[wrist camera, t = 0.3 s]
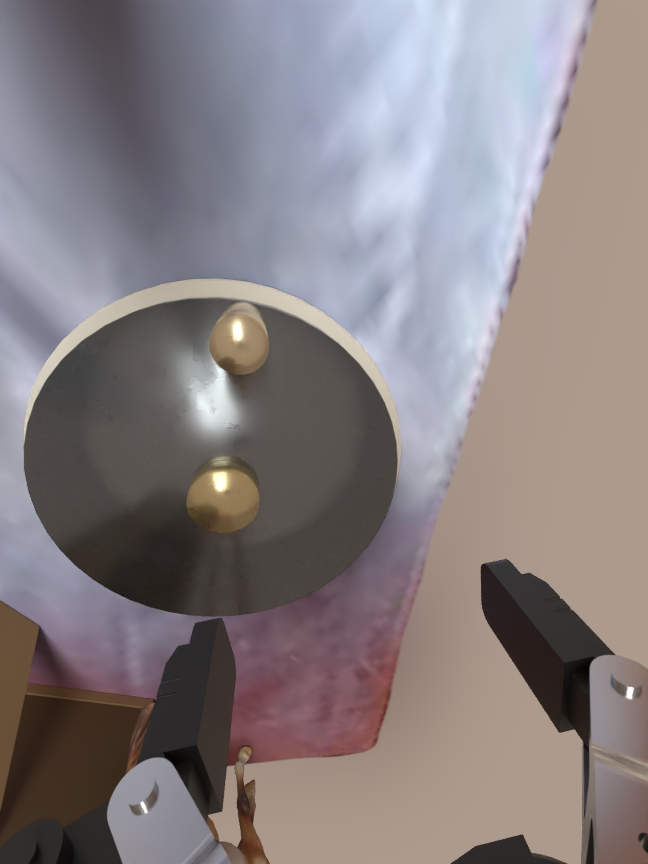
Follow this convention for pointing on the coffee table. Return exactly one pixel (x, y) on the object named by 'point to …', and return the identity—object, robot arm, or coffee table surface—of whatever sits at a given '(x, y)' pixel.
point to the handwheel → (210, 457)
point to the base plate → (228, 290)
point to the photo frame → (55, 738)
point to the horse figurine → (249, 852)
